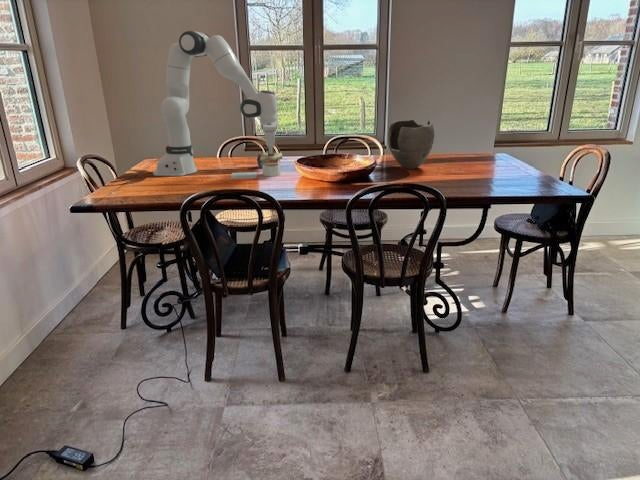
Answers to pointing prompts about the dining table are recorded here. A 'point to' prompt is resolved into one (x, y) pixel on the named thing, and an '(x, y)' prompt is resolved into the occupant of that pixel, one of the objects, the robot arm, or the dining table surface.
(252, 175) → the mat
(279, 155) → the lid
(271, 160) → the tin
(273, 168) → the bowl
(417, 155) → the clay pot
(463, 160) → the dining table surface
